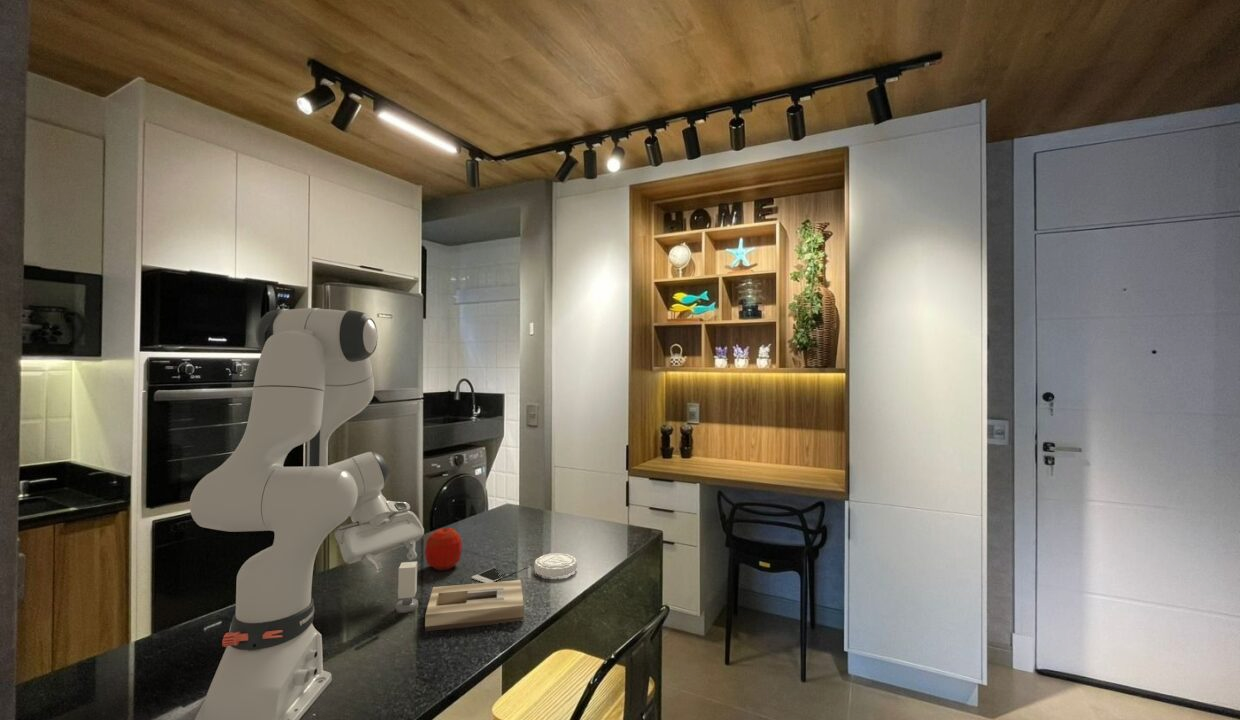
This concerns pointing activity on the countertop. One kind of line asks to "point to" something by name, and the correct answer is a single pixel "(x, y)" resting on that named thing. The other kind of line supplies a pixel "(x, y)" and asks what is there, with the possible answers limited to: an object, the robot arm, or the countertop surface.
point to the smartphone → (487, 576)
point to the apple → (443, 548)
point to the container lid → (555, 564)
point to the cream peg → (407, 587)
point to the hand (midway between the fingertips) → (396, 565)
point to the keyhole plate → (474, 605)
